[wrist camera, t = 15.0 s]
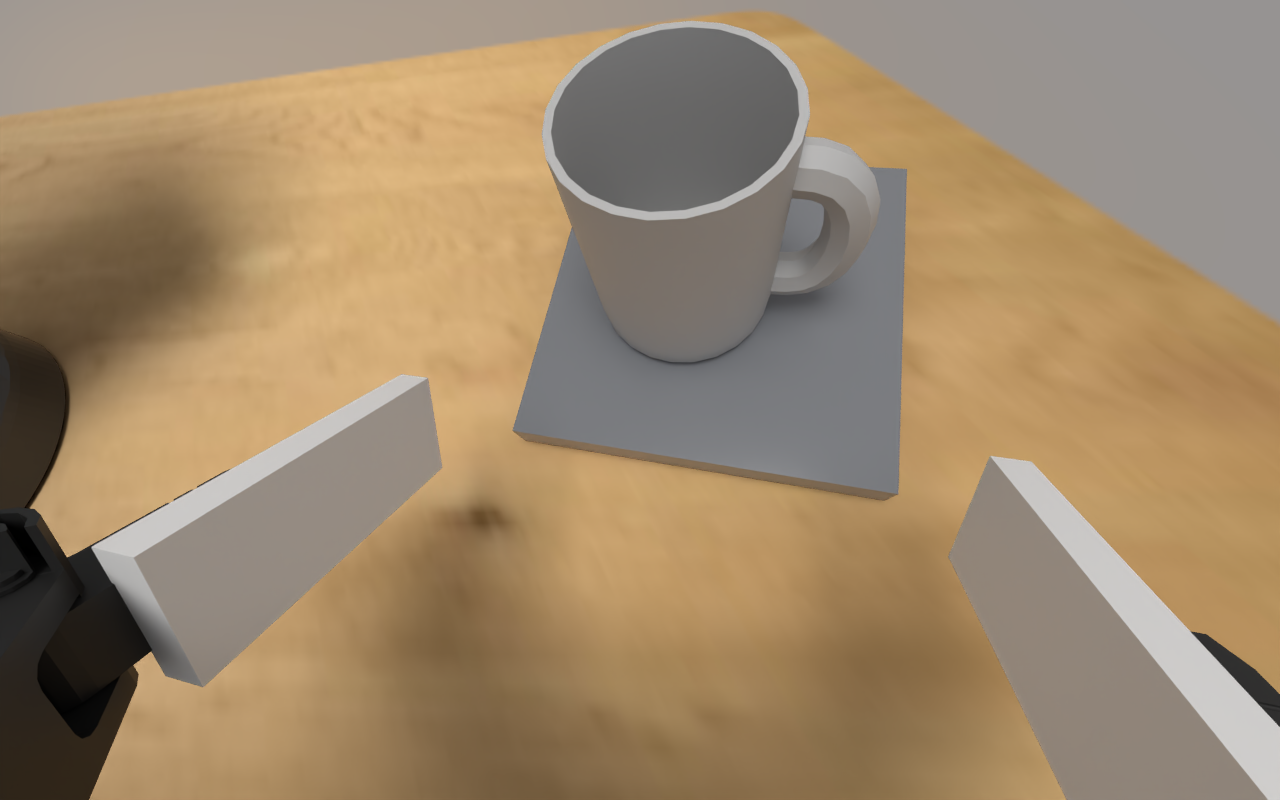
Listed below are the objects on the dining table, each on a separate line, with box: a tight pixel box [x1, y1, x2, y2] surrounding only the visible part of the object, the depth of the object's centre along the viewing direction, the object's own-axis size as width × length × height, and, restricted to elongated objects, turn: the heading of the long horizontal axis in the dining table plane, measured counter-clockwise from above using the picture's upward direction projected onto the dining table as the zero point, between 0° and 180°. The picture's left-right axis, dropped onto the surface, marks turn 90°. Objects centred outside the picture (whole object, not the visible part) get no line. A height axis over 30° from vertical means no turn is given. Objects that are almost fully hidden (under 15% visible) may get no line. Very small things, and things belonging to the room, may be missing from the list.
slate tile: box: [513, 167, 907, 500], centre depth 22 cm, size 15×15×2 cm
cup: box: [542, 21, 881, 362], centre depth 17 cm, size 7×10×9 cm
